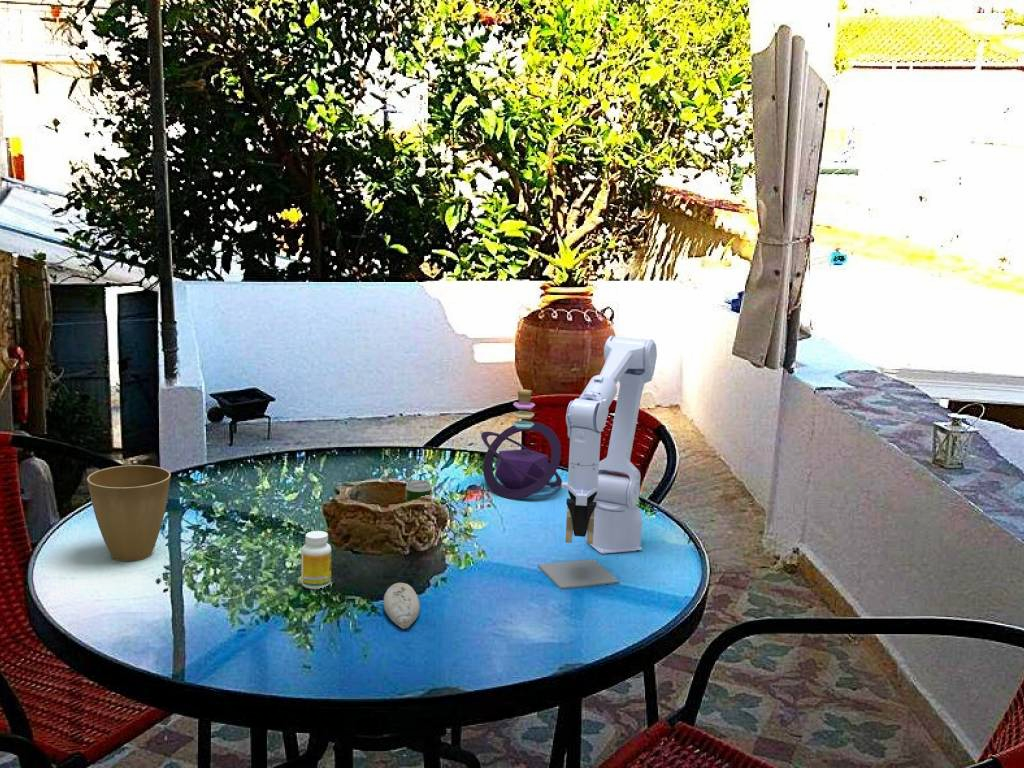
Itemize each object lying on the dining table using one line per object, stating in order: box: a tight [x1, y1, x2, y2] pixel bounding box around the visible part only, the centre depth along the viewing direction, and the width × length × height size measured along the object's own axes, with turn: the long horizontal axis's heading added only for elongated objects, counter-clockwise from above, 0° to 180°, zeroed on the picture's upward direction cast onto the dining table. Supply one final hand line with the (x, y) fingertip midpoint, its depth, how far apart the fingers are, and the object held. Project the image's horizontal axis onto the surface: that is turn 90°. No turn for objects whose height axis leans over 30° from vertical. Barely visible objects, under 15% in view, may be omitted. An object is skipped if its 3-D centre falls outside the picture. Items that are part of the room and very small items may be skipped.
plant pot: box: [86, 464, 172, 562], centre depth 191 cm, size 15×15×16 cm
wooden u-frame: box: [564, 507, 595, 545], centre depth 190 cm, size 5×5×6 cm
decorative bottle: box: [480, 389, 563, 500], centre depth 245 cm, size 22×21×25 cm
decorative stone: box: [382, 582, 421, 630], centre depth 171 cm, size 6×16×3 cm, turn 13°
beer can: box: [404, 479, 432, 501], centre depth 207 cm, size 5×5×12 cm
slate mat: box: [537, 559, 620, 590], centre depth 192 cm, size 12×12×1 cm
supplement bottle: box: [300, 530, 332, 590], centre depth 181 cm, size 5×5×10 cm
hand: (580, 530), depth 190 cm, fingers closed on wooden u-frame, 5 cm apart
